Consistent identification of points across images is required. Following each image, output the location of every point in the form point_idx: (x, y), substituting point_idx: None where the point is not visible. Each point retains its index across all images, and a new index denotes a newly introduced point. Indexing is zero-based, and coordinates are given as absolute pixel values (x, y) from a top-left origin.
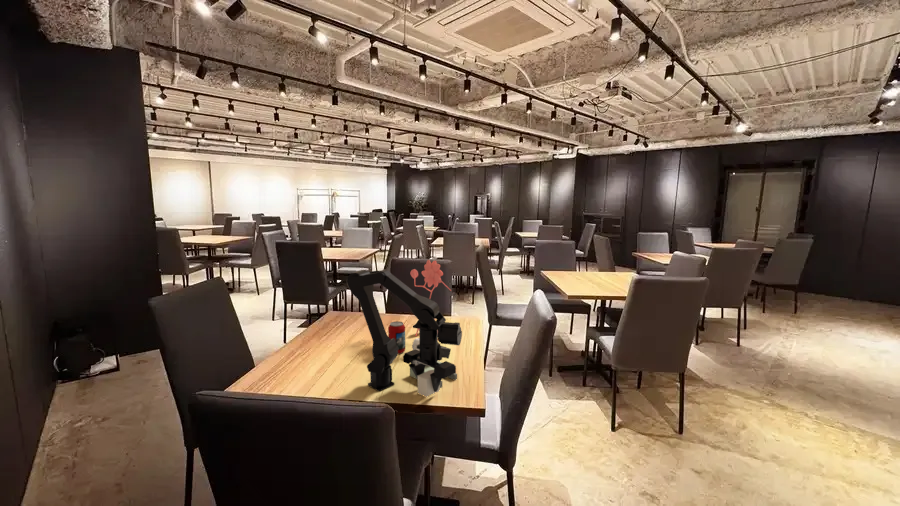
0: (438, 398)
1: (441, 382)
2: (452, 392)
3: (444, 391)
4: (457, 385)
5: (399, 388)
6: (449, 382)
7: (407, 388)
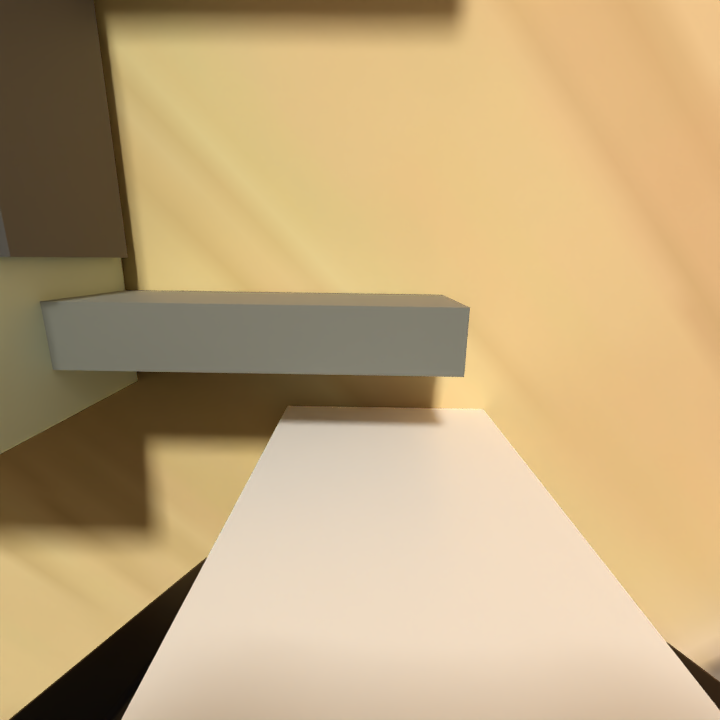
0: None
1: (461, 332)
2: (694, 320)
3: (562, 380)
4: (643, 34)
5: (36, 686)
6: (432, 49)
7: (100, 634)
